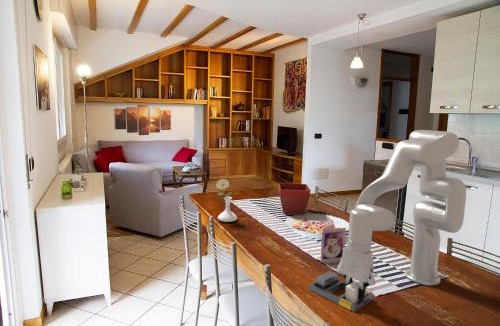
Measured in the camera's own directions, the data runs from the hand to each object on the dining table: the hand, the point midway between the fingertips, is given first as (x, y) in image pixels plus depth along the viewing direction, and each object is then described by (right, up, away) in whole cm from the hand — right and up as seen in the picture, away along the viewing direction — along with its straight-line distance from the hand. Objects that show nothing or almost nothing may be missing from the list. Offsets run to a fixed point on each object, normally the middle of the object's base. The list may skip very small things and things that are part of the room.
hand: (355, 295), depth 121 cm
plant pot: (-9, +14, +107) cm, 108 cm away
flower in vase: (-51, +12, +85) cm, 100 cm away
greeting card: (-1, +3, +35) cm, 36 cm away
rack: (-4, -2, +5) cm, 6 cm away
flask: (+2, +1, +23) cm, 23 cm away
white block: (0, -1, +1) cm, 1 cm away
